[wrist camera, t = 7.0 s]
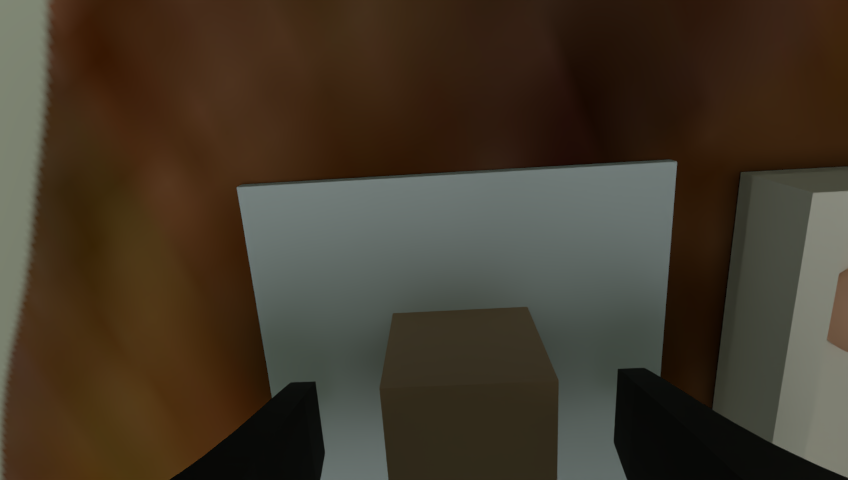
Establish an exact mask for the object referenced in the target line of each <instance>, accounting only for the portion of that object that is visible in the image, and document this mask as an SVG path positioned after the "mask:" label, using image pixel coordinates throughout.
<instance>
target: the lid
mask: <svg viewBox="0 0 848 480" xmlns="http://www.w3.org/2000/svg"><path fill="white" fill-rule="evenodd" d="M676 169H677V161H673V160H670V159H669V160H652V161H635V162H618V163H601V164H584V165H567V166H550V167H533V168H516V169H499V170H482V171H465V172H448V173H431V174H414V175H397V176H380V177H363V178H346V179H329V180H312V181H295V182H278V183H260V184H243V185H240V186H238V187H237V192H238V198H239V204H240V210H241V216H242V222H243V228H244V234H245V240H246V246H247V252H248V258H249V264H250V270H251V276H252V282H253V287H254V293H255V299H256V305H257V311H258V317H259V323H260V329H261V335H262V341H263V347H264V353H265V359H266V365H267V371H268V377H269V383H270V389H271V395H272V398H273V397H274V396H275V395H276V394H277V393H279V392H280V391H281V390H282V389H283V388H284V387H285V386H287V385H288V384H289V383H291V382H312V381H316V389H317V396H318V403H319V411H320V418H321V426H322V433H323V441H324V448H325V457H324V462H323V468H322V474H321V479H320V480H627V478H626V476H625V473H624V470H623V468H622V465H621V462H620V459H619V456H618V454H617V451H616V448H615V445H614V426H615V408H616V391H617V374H618V369H624V368H646V369H648V370H649V371H651V372H653V373H655V374H656V375H658V376H660V374H661V361H662V348H663V335H664V323H665V310H666V297H667V284H668V271H669V259H670V246H671V233H672V220H673V208H674V195H675V182H676Z"/></svg>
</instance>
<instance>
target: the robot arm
mask: <svg viewBox="0 0 848 480" xmlns="http://www.w3.org/2000/svg"><path fill="white" fill-rule="evenodd" d="M614 445H615V448H616V451H617V454H618V456H619V459H620V462H621V465H622V468H623V470H624V473H625V476H626V478H627V480H848V478H847V477H845V476H842V475H840V474H837V473H835V472H833V471H830V470H828V469H826V468H823V467H821V466H819V465H817V464H814V463H812V462H810V461H808V460H806V459H804V458H802V457H799V456H797V455H795V454H793V453H791V452H789V451H787V450H785V449H783V448H781V447H779V446H777V445H775V444H773V443H771V442H769V441H767V440H765V439H763V438H761V437H759V436H758V435H756V434H754V433H752V432H750V431H748V430H747V429H745V428H743V427H741V426H739V425H738V424H736V423H734V422H732V421H731V420H729V419H727V418H726V417H724V416H722V415H720V414H719V413H717V412H716V411H714V410H712V409H711V408H709V407H707V406H706V405H704V404H702V403H701V402H699V401H698V400H696V399H694V398H693V397H691V396H690V395H688V394H687V393H685V392H683V391H682V390H680V389H679V388H677V387H676V386H674V385H672V384H671V383H669V382H668V381H666V380H664V379H663V378H661V377H660V376H658V375H656V374H655V373H653V372H651V371H649V370H648V369H646V368H624V369H618V374H617V391H616V408H615V426H614ZM324 457H325V448H324V441H323V433H322V426H321V418H320V411H319V403H318V396H317V389H316V381H312V382H291V383H289V384H288V385H287V386H285V387H284V388H283V389H282V390H281V391H280V392H279V393H277V394H276V395H275V396H274V397H273V398H272V399H271V400H270V401H269V402H267V403H266V404H265V405H264V406H263V407H262V408H261V409H260V410H259V411H257V412H256V413H255V414H254V415H253V416H252V417H251V418H249V419H248V420H247V421H246V422H245V423H244V424H243V425H241V426H240V427H239V428H238V429H237V430H236V431H234V432H233V433H232V434H231V435H229V436H228V437H227V438H226V439H224V440H223V441H222V442H221V443H219V444H218V445H217V446H216V447H214V448H213V449H212V450H210V451H209V452H208V453H207V454H205V455H204V456H203V457H202V458H200V459H199V460H197V461H196V462H195V463H193V464H192V465H191V466H189V467H188V468H186V469H185V470H183V471H182V472H180V473H179V474H177V475H176V476H174V477H173V478H171V479H170V480H320V479H321V474H322V468H323V462H324Z"/></svg>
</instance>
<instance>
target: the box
mask: <svg viewBox="0 0 848 480" xmlns="http://www.w3.org/2000/svg"><path fill="white" fill-rule="evenodd" d="M712 410H714V411H716V412H717V413H719V414H720V415H722V416H724V417H726V418H727V419H729V420H731V421H732V422H734V423H736V424H738V425H739V426H741V427H743V428H745V429H747V430H748V431H750V432H752V433H754V434H756V435H758V436H759V437H761V438H763V439H765V440H767V441H769V442H771V443H773V444H775V445H777V446H779V447H781V448H783V449H785V450H787V451H789V452H791V453H793V454H795V455H797V456H799V457H802V458H804V459H806V460H808V461H810V462H812V463H814V464H817V465H819V466H821V467H823V468H826V469H828V470H830V471H833V472H835V473H837V474H840V475H842V476H845V477H847V478H848V166H846V167H828V168H809V169H790V170H772V171H753V172H741V176H740V185H739V193H738V201H737V209H736V218H735V226H734V234H733V243H732V251H731V259H730V267H729V276H728V284H727V292H726V301H725V309H724V317H723V325H722V334H721V342H720V350H719V359H718V367H717V375H716V383H715V392H714V400H713V408H712Z"/></svg>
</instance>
